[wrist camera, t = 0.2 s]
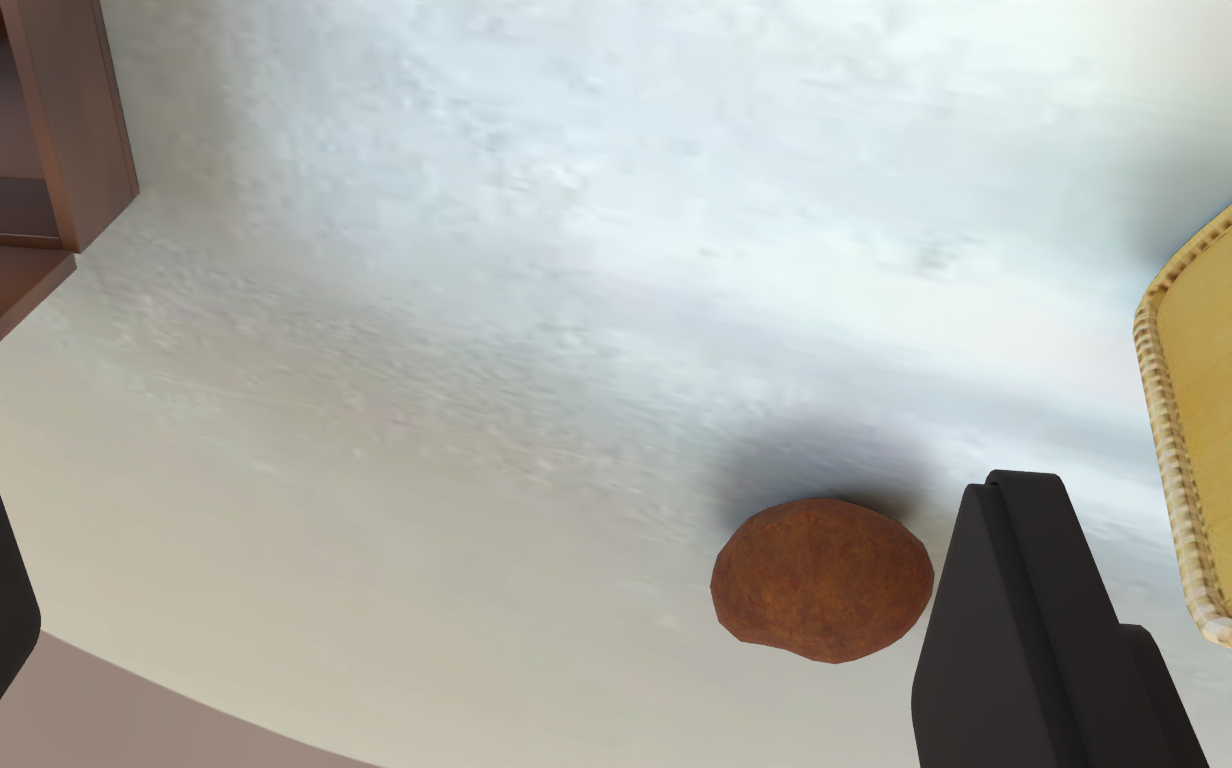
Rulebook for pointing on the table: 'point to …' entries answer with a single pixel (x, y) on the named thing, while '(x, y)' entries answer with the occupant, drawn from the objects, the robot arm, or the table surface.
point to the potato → (821, 580)
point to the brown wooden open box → (59, 127)
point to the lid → (29, 280)
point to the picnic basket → (1194, 414)
